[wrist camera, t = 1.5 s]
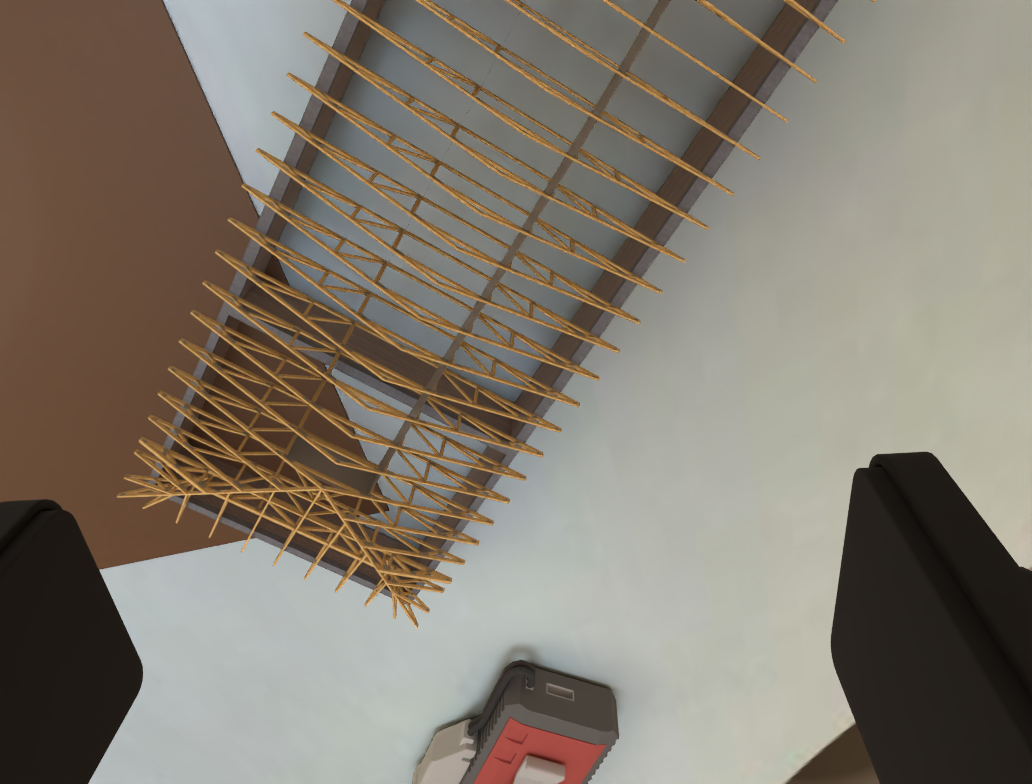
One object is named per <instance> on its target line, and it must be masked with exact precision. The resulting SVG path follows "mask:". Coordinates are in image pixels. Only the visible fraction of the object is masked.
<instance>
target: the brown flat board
mask: <svg viewBox="0 0 1032 784" xmlns="http://www.w3.org/2000/svg"><path fill="white" fill-rule="evenodd" d="M243 184H244V182H243V180H242V178H241V175H240V173H239V171H238V169H237V166H236V164H235V162H234V160H233V157H232V155H231V153H230V151H229V148H228V146H227V144H226V142H225V139H224V137H223V135H222V133H221V130H220V128H219V126H218V124H217V121H216V119H215V117H214V115H213V112H212V110H211V108H210V106H209V104H208V101H207V99H206V97H205V95H204V92H203V90H202V88H201V86H200V83H199V81H198V79H197V77H196V74H195V72H194V70H193V68H192V65H191V63H190V61H189V59H188V56H187V54H186V52H185V50H184V47H183V45H182V43H181V41H180V38H179V36H178V34H177V32H176V29H175V27H174V25H173V23H172V20H171V18H170V16H169V14H168V11H167V9H166V7H165V5H164V2H163V0H0V503H1V502H5V501H19V500H38V499H49V500H54V501H55V502H56V503H58V504H59V505H60V506H61V507H62V509H63V510H65V511H68V512H70V513H71V514H72V515H73V516H74V518H75V519H76V521H77V523H78V526H79V528H80V530H81V532H82V534H83V536H84V539H85V541H86V543H87V545H88V547H89V549H90V552H91V554H92V556H93V558H94V560H95V562H96V565H97V567H98V569H104V568H109V567H114V566H119V565H124V564H129V563H134V562H139V561H144V560H149V559H153V558H158V557H163V556H168V555H173V554H178V553H183V552H188V551H193V550H198V549H203V548H208V547H212V546H217V545H222V544H227V543H232V542H237V541H242V540H247V539H248V537H249V534H246V533H244V532H242V531H240V530H237V529H235V528H233V527H231V526H228V525H226V524H224V523H221V522H218V524H217V526H216V528H215V530H214V532H213V534H212V535H211V537H210V538H209V535H210V533H211V531H212V528H213V526H214V524H215V522H216V520H215V519H212V518H210V517H208V516H206V515H203V514H201V513H199V512H197V511H194V510H192V509H190V508H188V507H185V509H184V511H183V513H182V515H181V517H180V520H179V521H178V523H176V520H177V517H178V515H179V512H180V509H181V506H182V505H181V504H179V503H176V502H174V501H172V500H170V499H165V500H163V501H161V502H158V503H156V504H154V505H152V506H149V507H147V508H145V509H143V506H144V505H145V504H147V503H148V502H150V501H151V500H153V499H154V498H156V497H157V496H148V497H119V498H117V495H118V494H119V493H122V492H127V491H132V490H137V489H142V488H145V487H146V486H144V485H141V484H138V483H135V482H132V481H129V480H126V479H124V477H125V476H126V475H127V474H128V475H138V476H148V477H150V475H151V473H152V470H153V468H152V467H151V466H149V465H148V464H147V463H146V462H144V461H143V460H142V459H141V458H139V457H138V456H137V455H136V454H134V452H135V451H136V449H138V450H140V451H142V452H145V453H147V454H149V455H151V456H153V457H156V458H158V457H157V456H156V455H154V454H153V453H152V452H151V451H149V450H148V449H147V448H146V447H144V446H143V445H142V444H141V443H139V439H140V438H141V437H144V438H146V439H148V440H151V441H153V442H155V443H157V444H159V445H162V446H163V445H164V442H165V440H166V437H167V435H168V434H167V433H165V432H164V431H163V430H162V429H160V428H159V427H158V426H157V425H155V424H154V423H153V422H152V421H150V420H149V419H148V417H149V416H150V415H153V416H155V417H157V418H159V419H162V420H164V421H166V422H168V423H170V424H172V423H173V421H174V419H175V416H176V414H177V412H178V410H177V409H175V408H174V407H173V406H172V405H170V404H169V403H168V402H167V401H165V400H164V399H163V398H162V397H160V396H159V395H158V393H159V392H160V390H161V391H163V392H165V393H167V394H169V395H171V396H174V397H176V398H178V399H180V400H183V397H184V395H185V393H186V390H187V388H188V385H187V384H186V383H185V382H183V381H182V380H181V379H179V378H178V377H177V376H176V375H174V374H173V373H172V372H170V371H169V370H168V368H169V367H170V366H173V367H175V368H177V369H179V370H181V371H183V372H185V373H188V374H190V375H192V376H193V374H194V371H195V369H196V367H197V364H198V362H199V360H200V358H199V357H197V356H196V355H195V354H194V353H192V352H191V351H190V350H188V349H187V348H186V347H185V346H183V345H182V344H181V343H179V340H180V339H181V338H183V339H185V340H187V341H189V342H191V343H193V344H195V345H197V346H199V347H201V348H203V349H204V348H205V346H206V343H207V341H208V338H209V336H210V334H211V331H212V330H211V329H210V328H208V327H207V326H206V325H205V324H203V323H202V322H201V321H199V320H198V319H197V318H195V317H194V316H193V315H192V314H190V313H191V311H192V310H195V311H197V312H199V313H201V314H203V315H205V316H207V317H209V318H211V319H213V320H215V321H216V320H217V317H218V315H219V313H220V310H221V308H222V305H223V303H224V300H223V299H221V298H220V297H219V296H218V295H216V294H215V293H214V292H212V291H211V290H210V289H208V288H207V287H206V286H204V285H203V284H202V283H203V282H204V281H205V280H206V281H208V282H210V283H212V284H214V285H216V286H218V287H220V288H222V289H224V290H226V291H229V289H230V287H231V284H232V282H233V280H234V277H235V275H236V272H237V269H235V268H234V267H233V266H231V265H230V264H229V263H227V262H226V261H225V260H224V259H222V258H221V257H220V256H218V255H217V254H216V253H215V251H216V250H217V249H218V250H220V251H222V252H224V253H226V254H228V255H230V256H232V257H234V258H235V259H237V260H239V261H242V258H243V256H244V254H245V251H246V249H247V247H248V244H249V242H250V239H251V238H250V237H249V236H248V235H246V234H245V233H244V232H242V231H241V230H240V229H238V228H237V227H236V226H234V225H233V224H232V223H230V222H229V221H228V219H229V218H230V217H232V218H234V219H235V220H237V221H239V222H241V223H243V224H245V225H247V226H249V227H250V228H252V229H254V230H255V228H256V225H257V223H258V221H259V216H258V214H257V211H256V209H255V207H254V205H253V202H252V200H251V198H250V196H249V193H248V191H247V190H245V189H244V188H243V187H242V185H243ZM250 233H251V232H250ZM252 234H253V233H252ZM237 265H238V264H237ZM238 266H239V265H238ZM264 274H266V275H268V276H270V277H272V278H274V279H276V280H278V281H280V282H281V283H283V284H285V285H287V286H289V287H290V285H289V283H288V281H287V279H286V276H285V274H284V272H283V270H282V268H281V265H280V263H279V261H278V259H277V257H276V256H274V255H273V254H272V256H271V258H270V260H269V263H268V265H267V267H266V270H265V272H264ZM223 295H224V294H223ZM224 296H226V295H224ZM210 324H211V323H210ZM211 325H213V324H211ZM213 326H214V325H213ZM236 331H237V332H239V333H241V334H243V335H245V336H247V337H249V338H251V339H253V340H255V341H257V342H259V343H261V344H263V345H265V346H267V347H269V348H271V349H273V350H275V351H277V352H279V353H281V354H283V355H285V356H287V357H289V358H291V359H293V360H295V361H297V362H299V363H301V364H303V365H305V366H307V367H309V368H311V369H313V368H312V367H310V366H309V365H308V364H306V363H305V362H304V361H302V360H301V359H300V358H299V357H297V356H296V355H295V354H293V353H292V352H291V351H289V350H288V349H287V348H285V347H284V346H283V345H282V344H280V343H279V342H278V341H276V340H275V339H274V338H272V337H271V336H269V335H267V334H265V333H263V332H261V331H259V330H257V329H255V328H253V327H252V326H250V325H248V324H246V323H244V322H242V321H240V323H239V325H238V328H237V330H236ZM233 339H234V340H235V341H238V342H241V343H244V344H246V345H249V346H252V347H255V348H258V349H261V348H259V347H257V346H255V345H253V344H251V343H249V342H247V341H245V340H243V339H241V338H239V337H237V336H235V335H234V337H233ZM239 346H240V345H239ZM240 347H241V348H242V349H244V350H245V351H246V352H248V353H249V354H250V355H252V356H253V357H254V358H255V359H257V360H258V361H259V362H261V363H262V364H263V365H265V366H266V367H267V368H268V369H270V370H271V371H272V372H274V373H275V371H276V370H277V368H278V367H279V365H280V364H281V362H282V360H280V359H278V358H275V357H272V356H269V355H266V354H263V353H260V352H257V351H254V350H251V349H248V348H245V347H243V346H240ZM261 350H263V349H261ZM295 350H296V351H298V352H299V353H300V354H301V355H303V356H304V357H305V358H307V359H308V360H309V361H311V362H312V363H313V364H315V365H316V366H317V367H318V368H320V369H321V370H322V371H324V372H325V373H326V372H327V369H326V366H325V364H324V363H323V362H321V361H319V360H317V359H315V358H313V357H311V356H309V355H307V354H305V353H303V352H301V351H299V350H297V349H295ZM264 351H265V350H264ZM198 352H199V351H198ZM199 353H200V354H202V353H201V352H199ZM224 359H225V360H227V361H229V362H231V363H233V364H236V365H238V366H240V367H242V368H244V369H246V370H248V371H250V372H252V373H254V374H256V375H258V376H260V377H262V378H264V379H266V380H268V381H270V382H272V383H274V384H276V385H278V386H280V387H282V388H284V389H286V390H288V391H290V390H289V389H287V388H286V387H285V386H284V385H282V384H281V383H280V382H278V381H277V380H276V379H274V378H273V377H272V376H271V375H269V374H268V373H267V372H265V371H264V370H263V369H262V368H260V367H259V366H258V365H256V364H255V363H254V362H252V361H251V360H250V359H249V358H247V357H246V356H245V355H243V354H242V353H241V352H240V351H238V350H237V349H236V348H234V347H233V346H232V345H230V346H229V348H228V350H227V353H226V355H225V357H224ZM220 367H221V368H223V369H226V370H229V371H232V372H235V373H238V374H241V375H244V376H247V377H250V376H248V375H246V374H244V373H242V372H240V371H238V370H236V369H234V368H232V367H230V366H228V365H226V364H224V363H222V364H221V366H220ZM313 370H314V369H313ZM315 371H316V370H315ZM226 374H227V375H229V376H230V377H231V378H233V379H234V380H235V381H236V382H238V383H239V384H240V385H242V386H243V387H244V388H246V389H247V390H248V391H249V392H251V393H252V394H253V395H255V396H256V397H257V398H258V399H260V400H262V398H263V397H264V395H265V394H266V392H267V391H268V389H269V387H267V386H265V385H262V384H259V383H256V382H253V381H249V380H246V379H243V378H240V377H237V376H234V375H231V374H228V373H226ZM278 374H284V375H299V376H315V375H313V374H311V373H309V372H307V371H305V370H303V369H301V368H299V367H297V366H295V365H293V364H291V363H289V362H287V361H286V362H285V364H284V365H283V367H282V368H281V370H280V371H279V373H278ZM315 377H317V376H315ZM185 378H186V377H185ZM250 378H252V377H250ZM186 379H188V378H186ZM253 379H254V378H253ZM281 379H283V380H284V381H285V382H287V383H288V384H289V385H290V386H292V387H293V388H294V389H296V390H297V391H298V392H300V393H301V394H302V395H303V396H305V397H306V398H307V399H309V400H310V401H312V399H313V397H314V395H315V393H316V391H317V389H318V388H319V386H320V384H321V382H322V381H321V380H311V379H295V378H281ZM188 380H189V381H191V380H190V379H188ZM212 386H215V387H217V388H219V389H221V390H223V391H225V392H227V393H229V394H231V395H233V396H235V397H237V398H239V399H242V400H244V401H246V402H248V403H250V404H252V405H254V406H256V407H258V408H260V409H262V410H264V411H266V412H268V411H267V410H266V409H264V408H263V407H262V406H260V405H259V404H258V403H257V402H255V401H254V400H253V399H251V398H250V397H249V396H248V395H246V394H245V393H244V392H242V391H241V390H240V389H239V388H237V387H236V386H235V385H233V384H232V383H231V382H230V381H228V380H227V379H226V378H224V377H223V376H222V375H221V374H219V373H217V375H216V377H215V380H214V382H213V384H212ZM208 394H210V395H211V396H215V397H218V398H221V399H224V400H228V401H231V402H234V403H237V404H240V403H238V402H236V401H234V400H232V399H229V398H227V397H225V396H223V395H221V394H219V393H217V392H215V391H213V390H211V389H210V391H209V393H208ZM213 400H214V399H213ZM172 401H173V400H172ZM214 401H216V402H217V403H218V404H220V405H221V406H222V407H223V408H225V409H226V410H227V411H228V412H230V413H231V414H232V415H234V416H235V417H236V418H237V419H239V420H240V421H241V422H243V423H244V424H245V425H246V426H248V427H249V425H250V424H251V422H252V420H253V419H254V417H255V416H256V414H257V413H255V412H253V411H250V410H246V409H243V408H240V407H237V406H233V405H230V404H227V403H224V402H220V401H217V400H214ZM174 402H175V401H174ZM264 402H291V403H303V402H301V401H299V400H297V399H295V398H293V397H291V396H289V395H287V394H285V393H283V392H281V391H279V390H277V389H275V388H273V389H272V390H271V392H270V393H269V395H268V396H267V398H266V400H265V401H264ZM175 403H176V404H177V405H179V406H180V404H179V403H177V402H175ZM315 403H317V404H318V405H319V406H321V407H323V408H325V409H327V410H329V411H331V412H333V413H335V414H337V415H339V416H341V417H343V418H346V419H348V420H349V418H348V416H347V414H346V411H345V409H344V407H343V405H342V402H341V400H340V398H339V396H338V393H337V391H336V389H335V387H334V385H333V384H331V383H329V382H327V381H326V382H325V384H324V386H323V388H322V390H321V392H320V394H319V396H318V398H317V400H316V401H315ZM241 405H242V404H241ZM267 406H269V407H270V408H271V409H273V410H274V411H275V412H276V413H278V414H279V415H280V416H282V417H283V418H284V419H285V420H287V421H288V422H289V423H291V424H293V425H296V426H299V424H300V422H301V420H302V418H303V416H304V414H305V412H306V411H307V409H308V407H307V406H284V405H267ZM201 410H203V411H205V412H207V413H209V414H212V415H214V416H216V417H218V418H220V419H222V420H224V421H226V422H228V423H231V424H233V425H235V426H237V427H239V428H241V429H243V428H242V427H241V426H239V425H238V424H237V423H236V422H234V421H233V420H232V419H231V418H229V417H228V416H227V415H225V414H224V413H223V412H222V411H220V410H219V409H218V408H216V407H215V406H214V405H213V404H211V403H210V402H209V401H208V400H205V402H204V405H203V407H202V409H201ZM332 418H333V417H332ZM198 419H199V420H202V421H206V422H209V423H213V424H216V425H220V426H223V427H227V428H230V427H228V426H226V425H223V424H221V423H219V422H217V421H215V420H213V419H211V418H209V417H207V416H204V415H202V414H199V416H198ZM333 419H335V418H333ZM335 420H336V421H337V422H339V423H340V424H341V425H342V426H344V427H345V428H346V429H348V430H349V431H350V432H351V433H353V434H355V432H354V429H353V427H351V426H349V425H347V424H345V423H343V422H341V421H339V420H337V419H335ZM162 425H163V424H162ZM203 425H204V426H205V427H207V428H208V429H209V430H210V431H212V432H213V433H214V434H215V435H217V436H218V437H219V438H220V439H222V440H223V441H224V442H226V443H227V444H228V445H229V446H231V447H232V448H233V449H234V450H236V451H237V450H238V448H239V447H240V445H241V443H242V442H243V440H244V439H245V436H243V435H240V434H237V433H233V432H230V431H226V430H223V429H219V428H215V427H212V426H208V425H205V424H203ZM164 426H165V425H164ZM165 427H166V428H167V429H169V430H170V428H169V427H167V426H165ZM252 428H289V427H287V426H286V425H284V424H282V423H279V422H277V421H275V420H273V419H271V418H269V417H267V416H265V415H263V414H261V413H260V415H259V417H258V418H257V420H256V421H255V423H254V425H253V426H252ZM230 429H232V428H230ZM302 429H304V430H306V431H308V432H310V433H312V434H314V435H316V436H318V437H320V438H323V439H325V440H327V441H329V442H331V443H333V444H335V445H337V446H339V447H341V448H343V449H345V450H347V451H350V452H352V453H354V454H356V455H358V456H360V457H362V458H364V459H366V460H367V458H366V456H365V454H364V452H363V449H362V447H361V445H360V443H359V440H358V439H354V438H351V437H350V436H348V435H347V434H346V433H344V432H343V431H342V430H341V429H339V428H338V427H337V426H335V425H334V424H333V423H332V422H330V421H329V420H328V419H326V418H325V417H324V416H322V415H321V414H320V413H319V412H317V411H316V410H315V409H313V408H312V409H311V411H310V413H309V415H308V417H307V419H306V420H305V422H304V424H303V426H302ZM243 430H245V429H243ZM245 431H246V430H245ZM254 432H255V433H257V434H258V435H259V436H260V437H262V438H263V439H264V440H267V441H269V442H271V443H273V444H275V445H277V446H279V447H281V448H283V449H287V447H288V445H289V443H290V441H291V439H292V437H293V435H294V434H295V432H293V431H254ZM191 433H192V434H194V435H196V436H198V437H200V438H202V439H205V440H207V441H209V442H211V443H213V444H215V445H218V446H220V447H222V448H224V449H226V448H225V447H224V446H222V445H221V444H220V443H219V442H217V441H216V440H215V439H214V438H212V437H211V436H210V435H208V434H207V433H206V432H205V431H203V430H202V429H201V428H200V427H198V426H197V425H196V424H195V425H194V427H193V429H192V432H191ZM187 442H188V443H189V444H190V445H191V446H193V447H196V448H200V449H204V450H207V451H211V452H215V453H219V454H223V455H226V456H230V455H228V454H225V453H223V452H221V451H219V450H217V449H215V448H212V447H210V446H208V445H206V444H204V443H202V442H200V441H197V440H195V439H193V438H191V437H189V439H188V441H187ZM226 450H227V449H226ZM158 451H159V450H158ZM228 451H229V450H228ZM278 451H279V450H278ZM159 452H161V451H159ZM240 452H273V451H271V450H270V449H269V448H268V447H266V446H265V445H264V444H262V443H261V442H260V441H257V440H255V439H253V438H251V437H249V438H248V439H247V441H246V443H245V444H244V446H243V447H242V449H241V451H240ZM280 452H281V451H280ZM206 454H207V453H206ZM209 455H210V454H209ZM211 456H213V457H215V458H217V459H219V460H222V461H224V462H226V463H228V464H230V465H232V466H235V467H237V468H239V469H241V468H242V467H243V465H244V463H241V462H237V461H233V460H230V459H226V458H222V457H218V456H214V455H211ZM242 456H243V457H245V458H246V459H248V460H250V461H252V462H254V463H256V464H258V465H261V466H263V467H265V468H267V469H269V470H271V471H273V472H277V470H278V468H279V466H280V464H281V463H282V461H283V459H282V458H280V457H279V456H278V455H242ZM230 457H232V456H230ZM146 458H147V457H146ZM147 459H149V458H147ZM149 460H150V461H151V462H152V463H154V464H155V463H156V461H154V460H151V459H149ZM243 471H245V472H248V473H250V474H252V475H254V476H256V477H262V476H260V475H259V474H258V473H257V472H255V471H254V470H253V469H252V468H250V467H249V466H248V465H246V467H245V469H244V470H243ZM261 471H262V470H261ZM262 472H264V471H262ZM264 473H265V474H266V475H271V474H269V473H266V472H264ZM279 474H280V475H282V476H284V477H286V478H289V479H291V480H293V481H295V482H297V483H299V484H301V485H304V484H303V482H302V480H301V479H300V477H299V475H298V473H297V472H296V470H295V469H294V468H293V467H292V466H291V465H289V464H288V463H287V462H285V463H284V465H283V467H282V469H281V471H280V472H279ZM303 477H304V479H305V481H306V483H307V484H308V486H309V487H317V486H316V485H315V484H313V483H312V482H311V481H310V480H308V479H307V478H306V477H305V476H303ZM273 478H274V477H273ZM273 478H271V479H273ZM314 479H315V480H317V481H318V482H319V483H321V484H322V485H323V486H327V487H331V488H335V487H333V486H331V485H328V484H326V483H324V482H322V481H320V480H318V479H316V478H314ZM139 480H142V481H145V482H148V480H145V479H139ZM263 480H265V481H267V480H266V479H263ZM276 480H277V479H276ZM282 481H283V483H284V484H285V485H286V486H287V487H297V486H294V485H292V484H290V483H288V482H286V481H284V480H282ZM267 482H268V481H267ZM336 489H337V488H336ZM373 491H374V492H376V493H379V494H381V495H383V494H382V492H381V490H380V488H379V485H378V483H377V482H376V484H375V486H374V489H373ZM298 492H300V493H303V494H305V495H307V496H309V497H311V496H310V495H309V493H308V492H307V491H298ZM316 492H319V491H316ZM327 492H328V494H329V495H331V494H336V493H334V492H330V491H327ZM139 493H154V492H152V491H149V490H148V491H143V492H139ZM321 494H323V492H321ZM313 495H314V494H313ZM323 495H324V494H323ZM371 496H374V495H371ZM162 497H163V496H162ZM162 497H160V498H162ZM314 497H316V495H314ZM374 497H376V496H374ZM160 498H159V499H160ZM332 499H334V500H336V501H338V502H340V503H342V504H344V505H347V506H349V507H351V508H353V509H356V507H357V504H358V501H359V498H358V497H354V496H349V495H342V496H337V497H332ZM157 500H158V499H157ZM318 501H320V502H322V503H324V504H326V505H328V506H331V507H332V505H331V504H330V502H329V501H327V500H325V499H323V500H318ZM376 502H377V503H378V505H379V506H380V507H381V508H382V509H383V511H384V512H385V511H389V508H388V506H387V503H383V502H378V501H376ZM336 506H337V507H338V509H339V510H344V508H342V507H340V506H338V505H336ZM358 511H360V512H362V513H364V514H366V515H370V514H375V513H380V511H379V509H378V508H377V507H376V506H375V505H374V503H373V502H372V501H371V500H368V499H363V498H362V501H361V504H360V507H359V510H358ZM345 513H346V514H349V512H345ZM351 515H352V514H351ZM357 517H360V516H359V515H357ZM252 538H255V537H253V536H251V537H250V539H252Z"/></svg>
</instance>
